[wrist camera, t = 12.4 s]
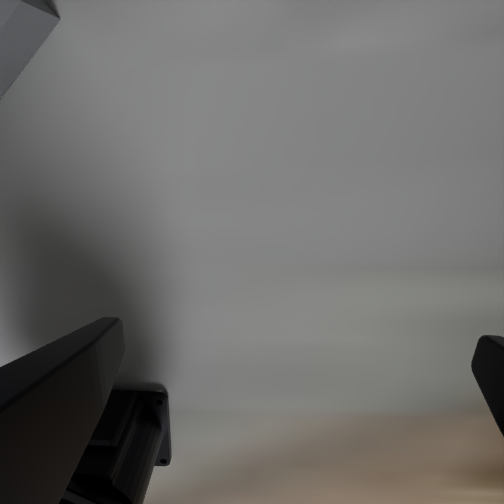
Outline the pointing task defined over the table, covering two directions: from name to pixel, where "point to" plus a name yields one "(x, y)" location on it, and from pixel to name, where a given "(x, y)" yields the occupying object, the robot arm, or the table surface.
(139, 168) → the table surface
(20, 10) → the case
